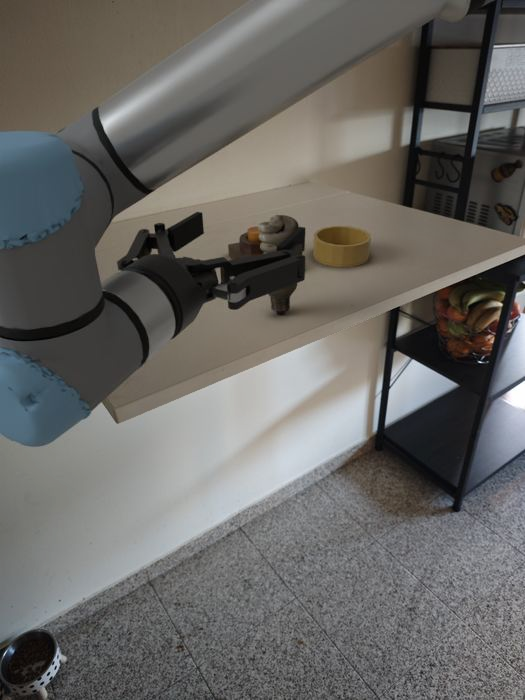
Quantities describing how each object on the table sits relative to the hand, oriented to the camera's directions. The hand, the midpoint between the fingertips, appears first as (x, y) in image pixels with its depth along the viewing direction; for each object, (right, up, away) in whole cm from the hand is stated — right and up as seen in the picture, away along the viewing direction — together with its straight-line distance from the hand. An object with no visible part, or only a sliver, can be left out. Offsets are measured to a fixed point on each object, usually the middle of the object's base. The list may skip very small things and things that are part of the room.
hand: (249, 230), depth 60 cm
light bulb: (+4, -9, +15) cm, 18 cm away
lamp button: (+1, +6, +31) cm, 31 cm away
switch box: (+2, +2, +31) cm, 31 cm away
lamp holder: (+16, +3, +33) cm, 37 cm away
